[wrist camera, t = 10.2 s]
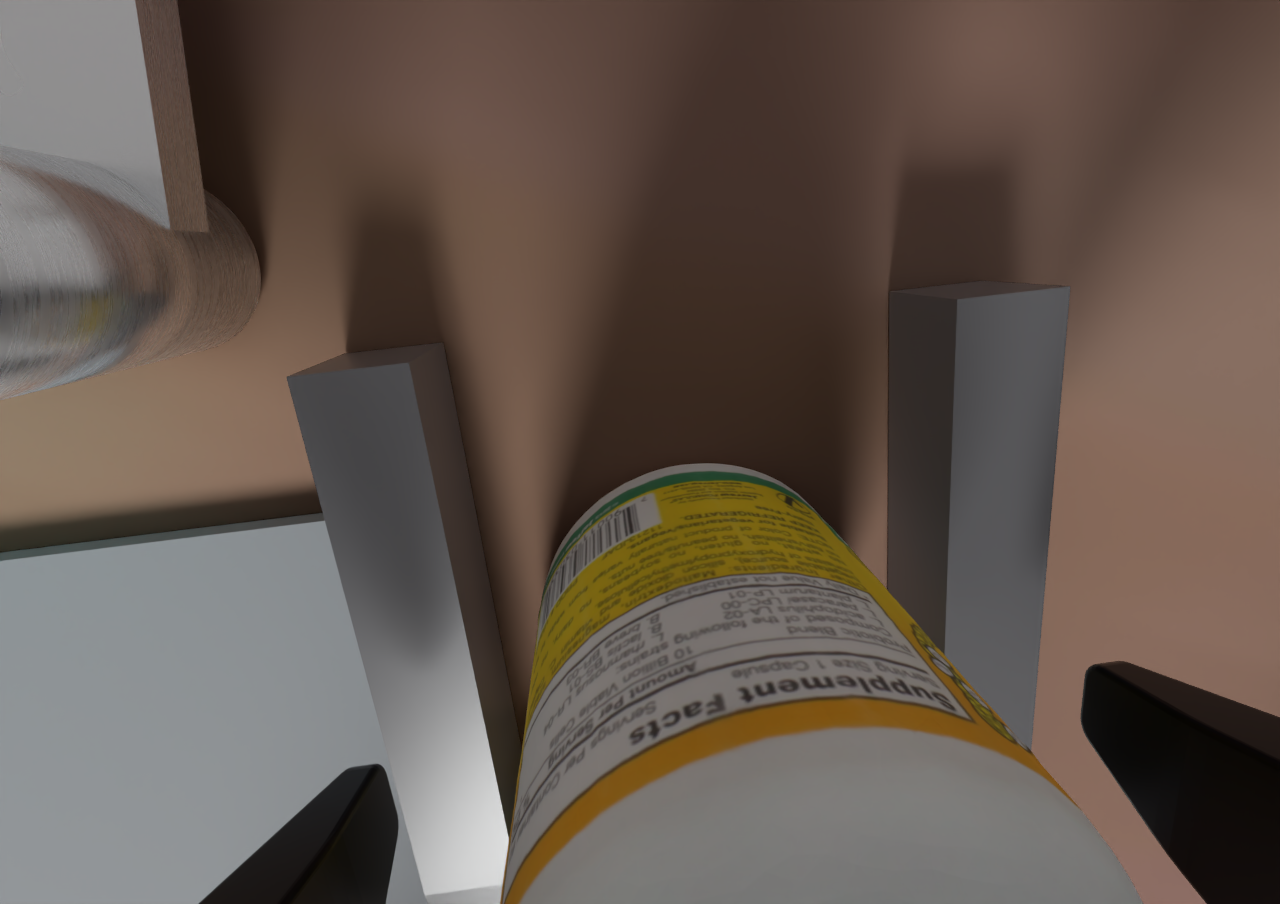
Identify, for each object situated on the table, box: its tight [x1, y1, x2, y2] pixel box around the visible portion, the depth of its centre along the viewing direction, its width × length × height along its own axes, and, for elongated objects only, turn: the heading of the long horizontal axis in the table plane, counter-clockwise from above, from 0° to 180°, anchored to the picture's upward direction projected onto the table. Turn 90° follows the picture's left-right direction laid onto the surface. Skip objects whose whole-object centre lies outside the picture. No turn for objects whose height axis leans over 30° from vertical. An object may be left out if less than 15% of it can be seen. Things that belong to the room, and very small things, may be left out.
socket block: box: [287, 281, 1070, 904], centre depth 11 cm, size 10×10×2 cm
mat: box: [0, 513, 427, 904], centre depth 12 cm, size 9×9×1 cm
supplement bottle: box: [500, 463, 1143, 904], centre depth 7 cm, size 5×5×10 cm
